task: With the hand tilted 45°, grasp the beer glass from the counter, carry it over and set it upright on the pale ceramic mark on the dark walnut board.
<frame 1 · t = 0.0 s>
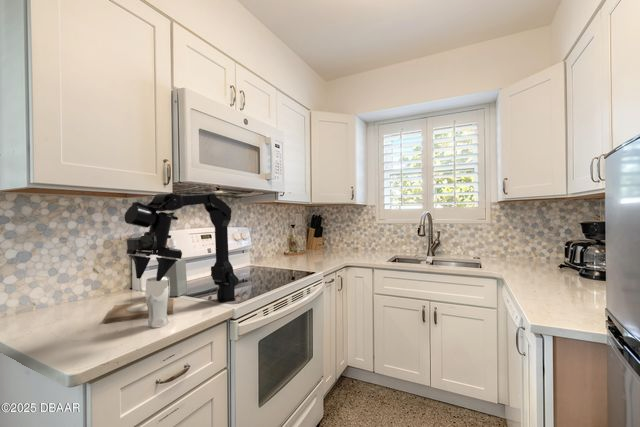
hand: (148, 279, 90), 15 cm above the worktop, tool pointing down, fingers open, 9 cm apart
walnut board: (142, 311, 106), on the worktop
skincare box: (174, 295, 129), on the worktop
beer glass: (158, 325, 94), on the worktop
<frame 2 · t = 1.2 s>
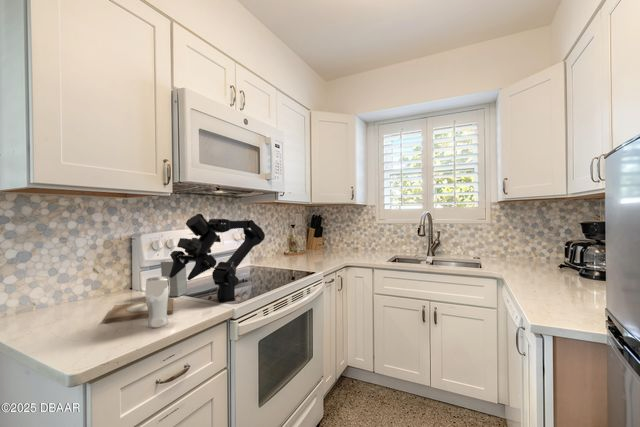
hand: (179, 278, 101), 13 cm above the worktop, tool tilted 45°, fingers open, 9 cm apart
nothing on the worktop moved.
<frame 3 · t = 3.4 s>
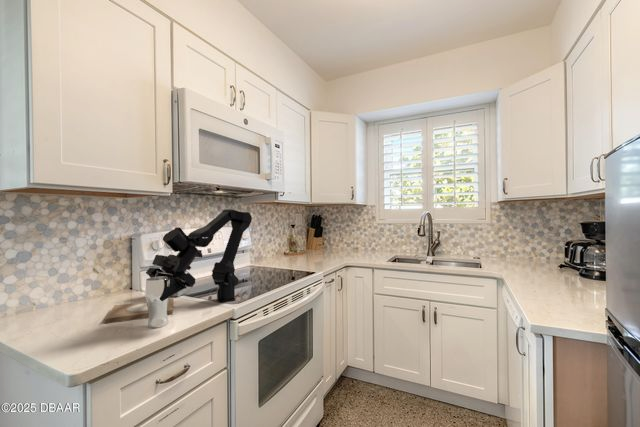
hand: (153, 299, 92), 9 cm above the worktop, tool tilted 45°, fingers closed on beer glass, 7 cm apart
beer glass: (158, 325, 94), on the worktop, touching gripper
everything else where it was.
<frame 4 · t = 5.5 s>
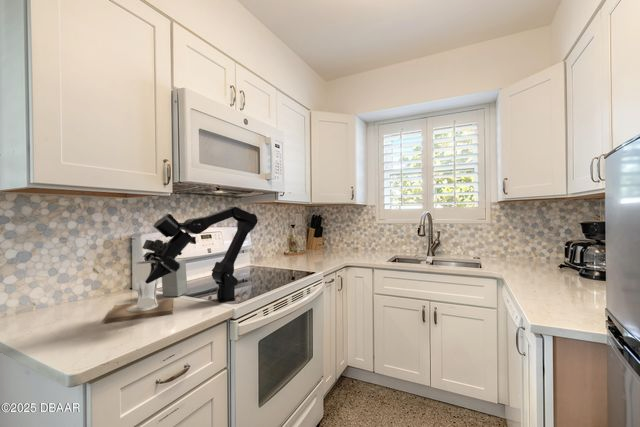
hand: (142, 281, 97), 13 cm above the worktop, tool tilted 45°, fingers closed on beer glass, 7 cm apart
beer glass: (147, 306, 98), point 4 cm above the worktop, touching gripper
everything else where it was.
when the fingers open (11 cm above the worktop, at t = 7.4 s): beer glass stays where it is, resting on walnut board.
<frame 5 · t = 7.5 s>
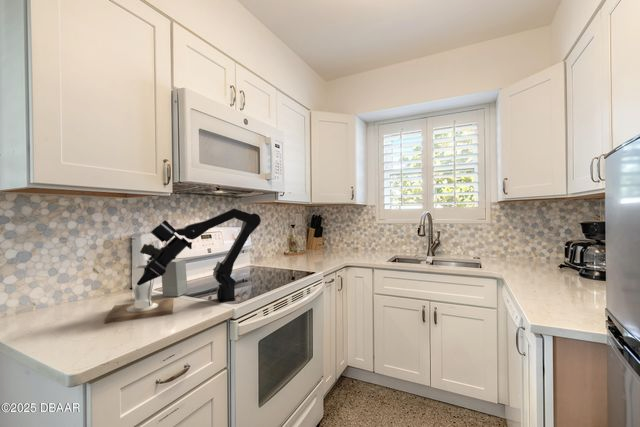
hand: (138, 282, 106), 11 cm above the worktop, tool tilted 45°, fingers open, 8 cm apart
beer glass: (143, 307, 106), point 2 cm above the worktop, touching walnut board
everything else where it was.
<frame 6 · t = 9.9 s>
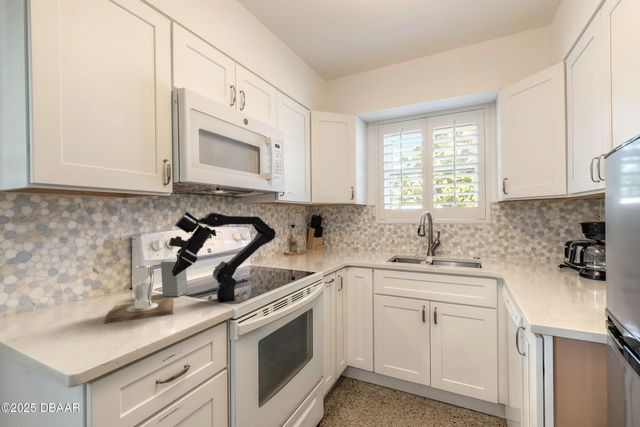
hand: (172, 274, 110), 13 cm above the worktop, tool tilted 35°, fingers open, 9 cm apart
nothing on the worktop moved.
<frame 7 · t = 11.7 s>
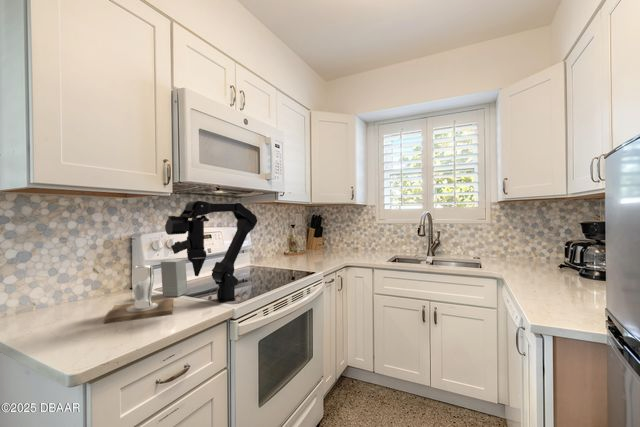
hand: (196, 273, 111), 13 cm above the worktop, tool pointing down, fingers open, 9 cm apart
nothing on the worktop moved.
at the end: beer glass inside the target area on the walnut board (0.1 cm from its centre), point 1.5 cm above the walnut board's base; beer glass tilted 0°; the gripper is holding nothing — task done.
